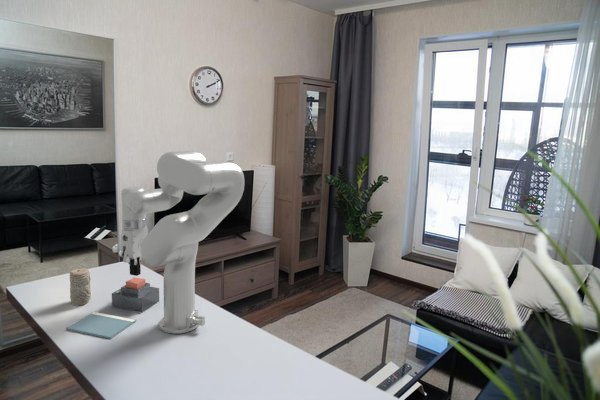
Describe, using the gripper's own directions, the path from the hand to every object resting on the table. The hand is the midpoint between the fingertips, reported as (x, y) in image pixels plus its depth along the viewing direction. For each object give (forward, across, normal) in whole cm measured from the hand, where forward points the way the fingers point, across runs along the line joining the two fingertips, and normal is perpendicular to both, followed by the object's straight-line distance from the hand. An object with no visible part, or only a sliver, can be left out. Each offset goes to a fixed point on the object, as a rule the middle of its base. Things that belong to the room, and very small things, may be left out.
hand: (135, 274), depth 150 cm
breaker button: (+4, 0, 0) cm, 4 cm away
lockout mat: (+11, -17, 0) cm, 20 cm away
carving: (+11, -6, +18) cm, 22 cm away
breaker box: (+11, 0, 0) cm, 11 cm away
